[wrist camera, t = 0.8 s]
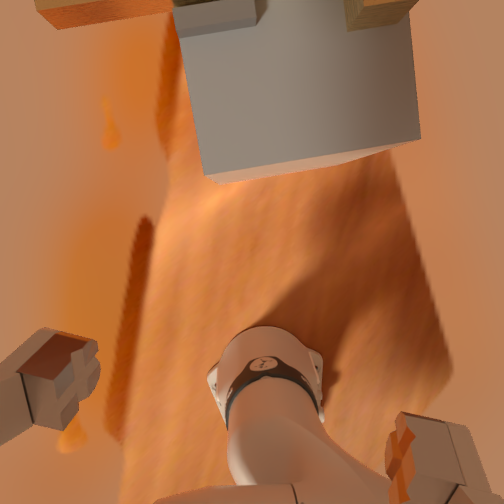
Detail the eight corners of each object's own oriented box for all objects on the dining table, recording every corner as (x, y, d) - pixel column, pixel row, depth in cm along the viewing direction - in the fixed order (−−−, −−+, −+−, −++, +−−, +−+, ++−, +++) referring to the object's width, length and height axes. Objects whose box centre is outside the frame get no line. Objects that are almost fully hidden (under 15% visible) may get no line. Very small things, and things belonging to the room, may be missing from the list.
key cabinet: (337, 165, 57) (430, 135, 29) (219, 184, 57) (202, 174, 29) (317, 9, 54) (400, -189, 26) (192, 29, 54) (143, -148, 26)
